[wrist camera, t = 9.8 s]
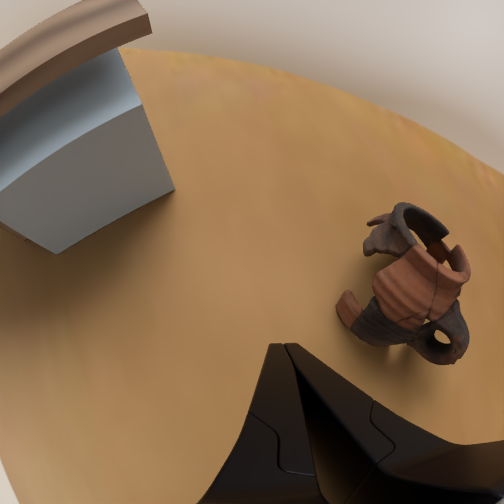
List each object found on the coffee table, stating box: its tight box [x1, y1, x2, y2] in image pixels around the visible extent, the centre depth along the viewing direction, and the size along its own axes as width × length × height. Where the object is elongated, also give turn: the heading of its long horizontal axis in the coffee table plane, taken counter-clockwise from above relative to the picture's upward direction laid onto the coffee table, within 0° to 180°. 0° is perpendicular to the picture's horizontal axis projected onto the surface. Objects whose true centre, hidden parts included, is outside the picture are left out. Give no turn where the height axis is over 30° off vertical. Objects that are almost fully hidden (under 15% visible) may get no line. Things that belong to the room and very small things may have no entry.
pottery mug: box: [336, 202, 471, 365], centre depth 19 cm, size 12×10×8 cm
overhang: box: [0, 0, 152, 241], centre depth 17 cm, size 11×18×14 cm, turn 118°
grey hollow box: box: [0, 47, 175, 255], centre depth 19 cm, size 14×12×10 cm
